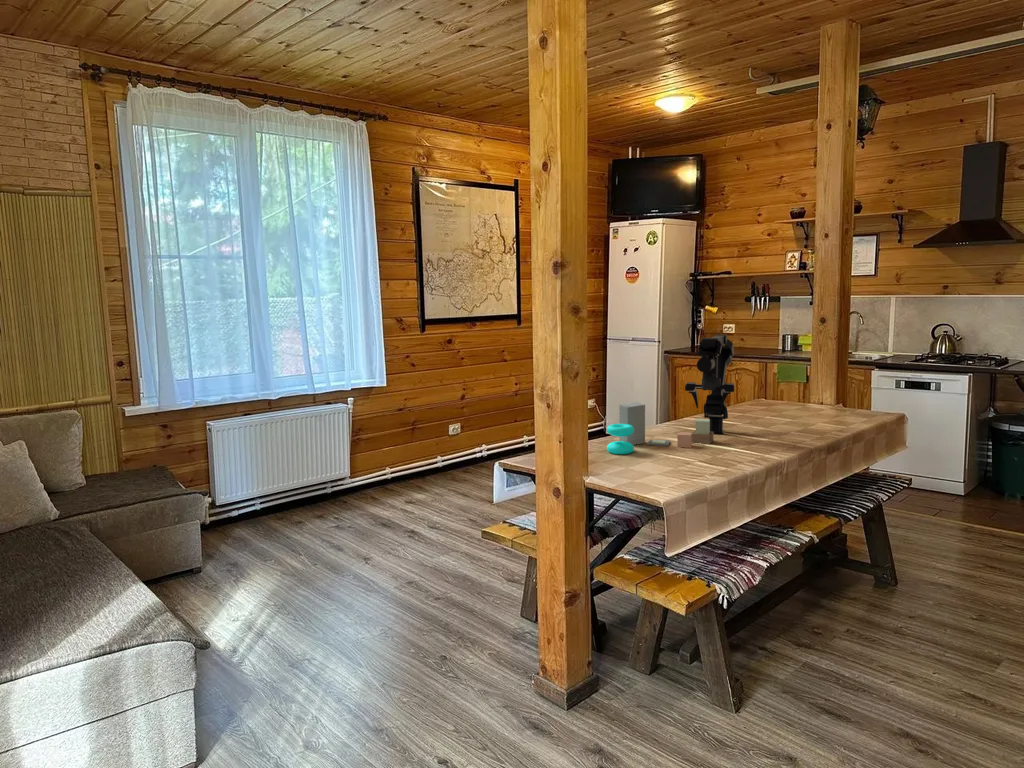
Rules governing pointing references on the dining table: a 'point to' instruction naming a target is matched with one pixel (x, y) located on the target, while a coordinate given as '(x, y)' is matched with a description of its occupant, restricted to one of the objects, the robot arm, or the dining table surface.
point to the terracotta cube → (684, 439)
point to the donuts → (620, 446)
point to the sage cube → (702, 426)
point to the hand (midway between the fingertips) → (709, 408)
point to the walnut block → (702, 438)
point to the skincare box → (633, 421)
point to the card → (658, 442)
